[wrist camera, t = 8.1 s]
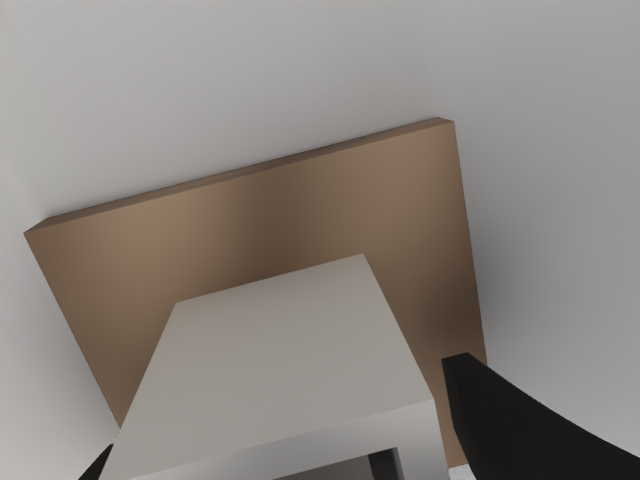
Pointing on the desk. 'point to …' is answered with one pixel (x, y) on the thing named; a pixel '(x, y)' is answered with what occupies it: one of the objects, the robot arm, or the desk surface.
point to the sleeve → (282, 386)
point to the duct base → (277, 255)
